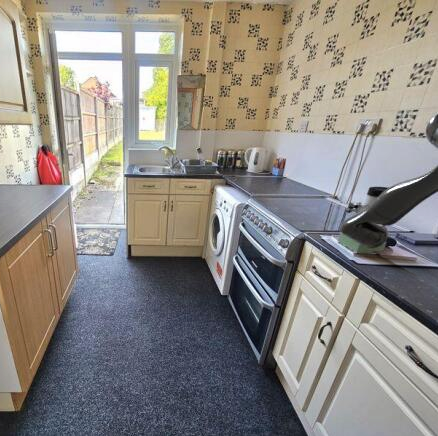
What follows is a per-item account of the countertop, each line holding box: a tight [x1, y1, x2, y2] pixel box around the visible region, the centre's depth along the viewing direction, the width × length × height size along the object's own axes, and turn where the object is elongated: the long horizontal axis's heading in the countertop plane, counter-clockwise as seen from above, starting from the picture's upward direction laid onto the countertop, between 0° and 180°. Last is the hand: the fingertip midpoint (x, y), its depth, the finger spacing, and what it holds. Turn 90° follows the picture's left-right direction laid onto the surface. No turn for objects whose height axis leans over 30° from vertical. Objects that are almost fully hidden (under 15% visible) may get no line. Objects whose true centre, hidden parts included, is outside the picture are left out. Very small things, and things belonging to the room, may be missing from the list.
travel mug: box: [362, 186, 390, 205], centre depth 93 cm, size 6×7×20 cm
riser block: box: [337, 231, 387, 253], centre depth 97 cm, size 10×10×5 cm
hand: (373, 207), depth 94 cm, fingers open, 8 cm apart
